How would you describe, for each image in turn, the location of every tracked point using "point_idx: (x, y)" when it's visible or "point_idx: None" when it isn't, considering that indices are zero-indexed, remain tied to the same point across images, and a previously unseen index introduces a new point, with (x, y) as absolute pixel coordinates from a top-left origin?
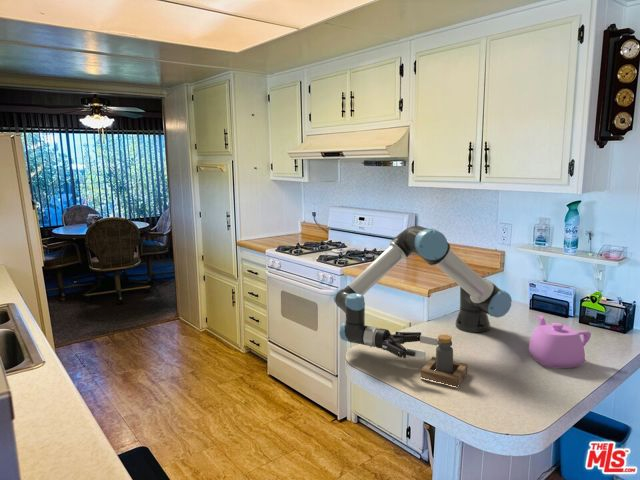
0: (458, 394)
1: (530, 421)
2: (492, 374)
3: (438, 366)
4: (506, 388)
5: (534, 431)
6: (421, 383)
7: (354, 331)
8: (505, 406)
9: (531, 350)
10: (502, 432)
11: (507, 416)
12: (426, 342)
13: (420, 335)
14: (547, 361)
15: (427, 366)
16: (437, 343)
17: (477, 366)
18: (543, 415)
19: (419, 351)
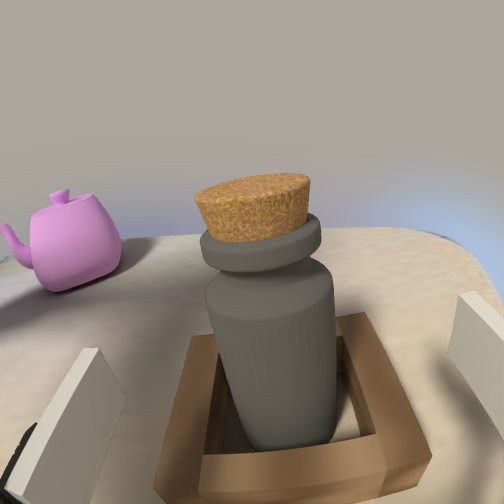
0: (398, 329)
1: (373, 235)
2: (180, 321)
3: (335, 384)
4: None
5: (397, 228)
6: (448, 455)
7: None
8: (356, 261)
9: (69, 269)
10: (447, 240)
11: (392, 250)
12: (90, 471)
13: (3, 497)
14: (117, 252)
15: (342, 460)
16: (299, 254)
17: (128, 361)
18: (335, 234)
19: (501, 321)
